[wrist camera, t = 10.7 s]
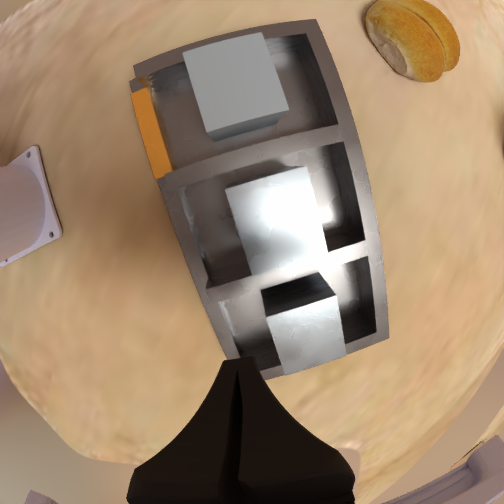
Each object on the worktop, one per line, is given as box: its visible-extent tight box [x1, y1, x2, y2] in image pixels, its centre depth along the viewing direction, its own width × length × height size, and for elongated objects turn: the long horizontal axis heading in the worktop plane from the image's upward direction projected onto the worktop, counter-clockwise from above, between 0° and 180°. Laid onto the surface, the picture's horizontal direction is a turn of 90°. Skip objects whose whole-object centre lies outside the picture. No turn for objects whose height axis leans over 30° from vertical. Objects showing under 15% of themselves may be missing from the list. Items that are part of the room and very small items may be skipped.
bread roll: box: [365, 0, 460, 82], centre depth 14 cm, size 8×9×4 cm
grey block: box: [182, 32, 289, 142], centre depth 14 cm, size 4×4×5 cm
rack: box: [129, 19, 389, 380], centre depth 17 cm, size 12×22×6 cm, turn 17°
